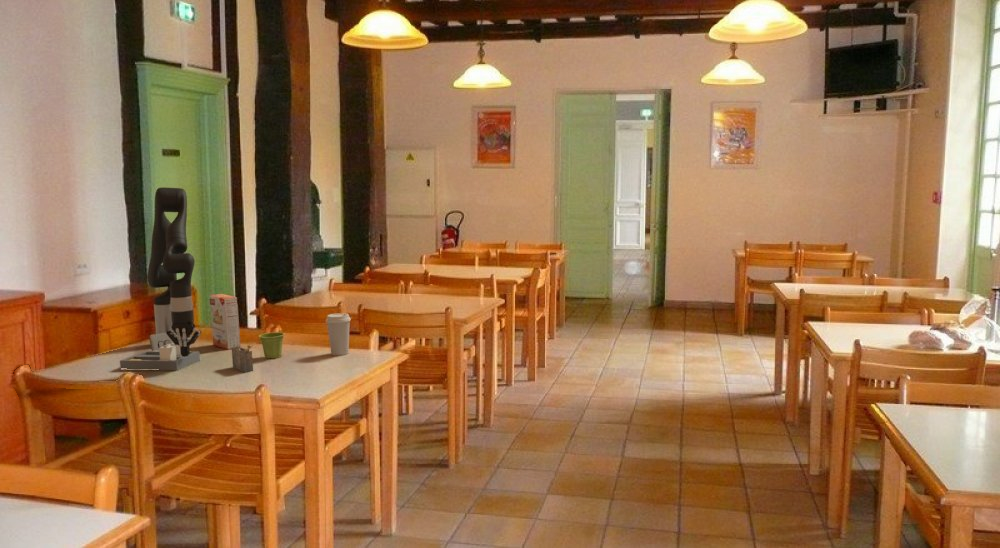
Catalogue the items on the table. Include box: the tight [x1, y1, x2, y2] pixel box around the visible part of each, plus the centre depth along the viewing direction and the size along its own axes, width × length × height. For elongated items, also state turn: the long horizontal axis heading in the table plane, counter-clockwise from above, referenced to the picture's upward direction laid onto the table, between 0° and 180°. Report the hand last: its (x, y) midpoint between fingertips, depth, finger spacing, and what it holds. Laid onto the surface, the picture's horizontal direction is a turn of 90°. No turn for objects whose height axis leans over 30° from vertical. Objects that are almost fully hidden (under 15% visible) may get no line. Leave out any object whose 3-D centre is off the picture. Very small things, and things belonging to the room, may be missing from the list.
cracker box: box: [209, 293, 242, 351], centre depth 333 cm, size 14×6×21 cm, turn 42°
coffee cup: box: [325, 312, 352, 357], centre depth 315 cm, size 10×10×15 cm
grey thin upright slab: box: [231, 344, 254, 373], centre depth 294 cm, size 11×3×10 cm, turn 41°
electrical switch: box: [149, 333, 173, 351], centre depth 320 cm, size 9×5×9 cm, turn 134°
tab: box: [159, 344, 177, 360], centre depth 298 cm, size 4×4×7 cm
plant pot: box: [258, 331, 285, 360], centre depth 312 cm, size 9×9×9 cm
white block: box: [171, 343, 181, 355], centre depth 306 cm, size 4×4×7 cm
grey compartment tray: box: [119, 350, 201, 371], centre depth 304 cm, size 16×22×4 cm
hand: (185, 356), depth 298 cm, fingers closed
